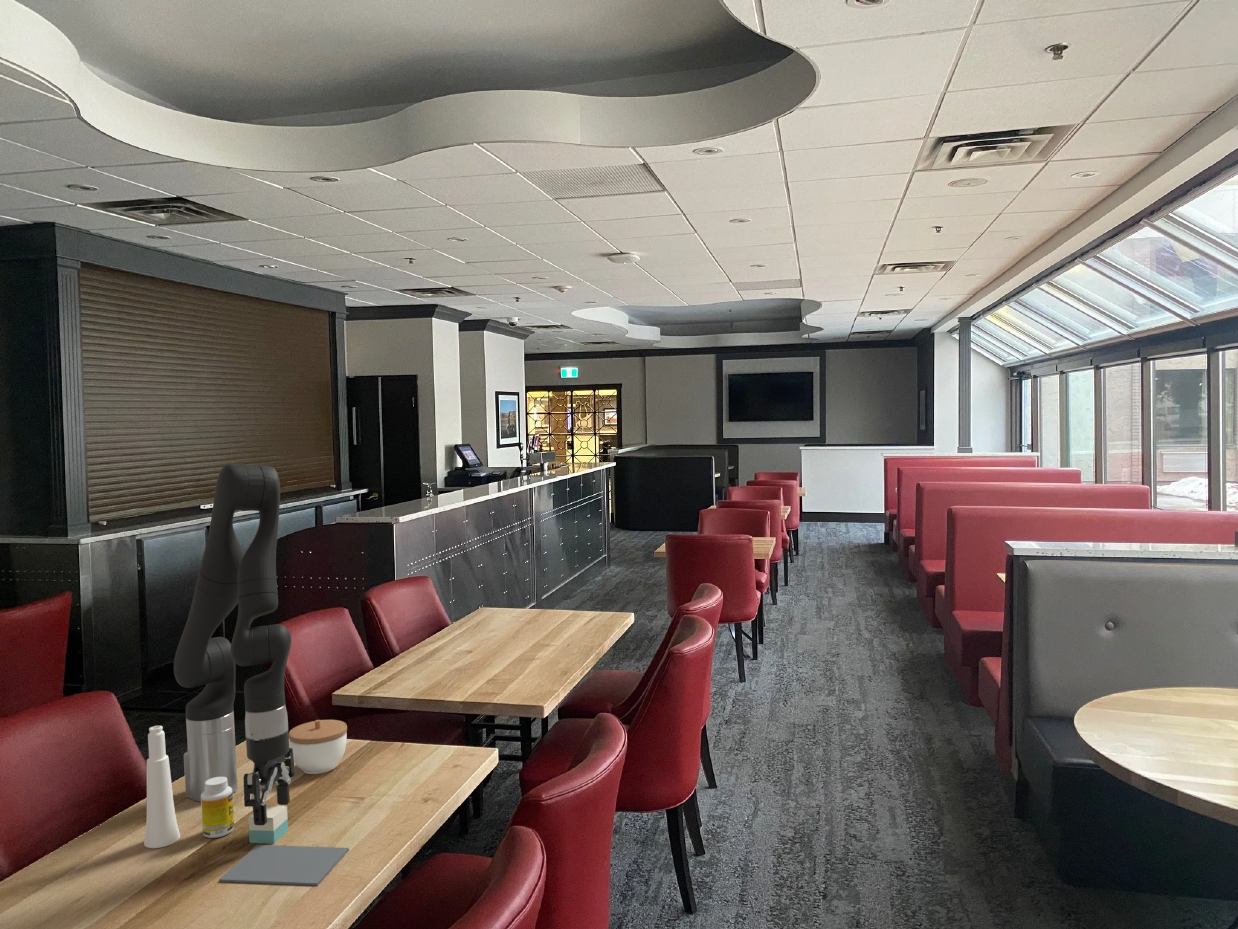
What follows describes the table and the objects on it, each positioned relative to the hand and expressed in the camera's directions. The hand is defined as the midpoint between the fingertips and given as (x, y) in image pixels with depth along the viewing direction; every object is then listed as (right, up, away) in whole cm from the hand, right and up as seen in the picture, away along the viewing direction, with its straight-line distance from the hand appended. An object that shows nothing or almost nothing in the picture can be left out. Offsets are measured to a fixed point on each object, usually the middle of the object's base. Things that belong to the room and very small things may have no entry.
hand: (272, 814), depth 161 cm
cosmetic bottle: (-21, -5, 0) cm, 21 cm away
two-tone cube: (-1, -4, 0) cm, 4 cm away
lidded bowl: (-2, -3, +33) cm, 33 cm away
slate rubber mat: (+7, -5, -11) cm, 14 cm away
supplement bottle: (-11, -5, +2) cm, 13 cm away
